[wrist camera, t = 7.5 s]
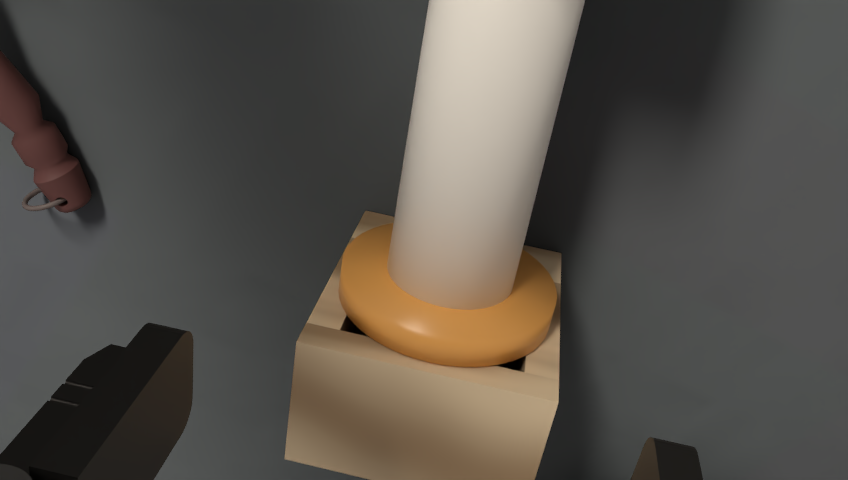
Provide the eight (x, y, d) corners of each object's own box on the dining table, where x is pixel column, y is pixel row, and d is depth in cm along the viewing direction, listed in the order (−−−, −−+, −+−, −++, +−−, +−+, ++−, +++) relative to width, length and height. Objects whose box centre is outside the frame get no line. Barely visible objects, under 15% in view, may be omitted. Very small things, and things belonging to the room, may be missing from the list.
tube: (441, -317, 21) (391, -372, 15) (701, -272, 21) (755, -310, 15) (358, 278, 30) (305, 392, 24) (538, 319, 29) (530, 445, 23)
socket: (365, 210, 30) (296, 341, 23) (561, 253, 30) (558, 402, 22) (351, 308, 32) (284, 459, 25) (534, 349, 32) (523, 516, 24)
